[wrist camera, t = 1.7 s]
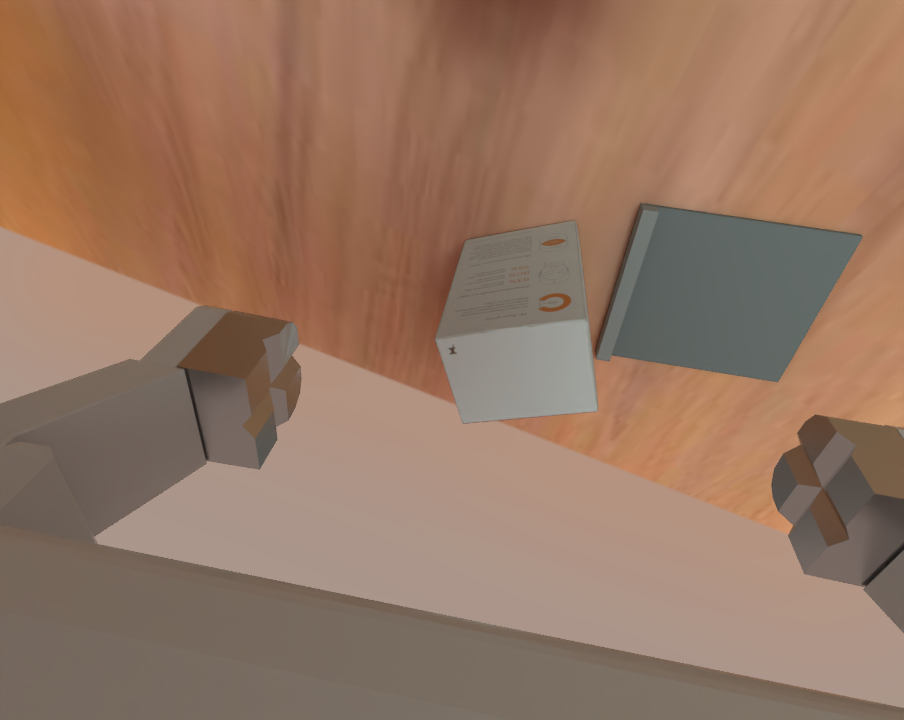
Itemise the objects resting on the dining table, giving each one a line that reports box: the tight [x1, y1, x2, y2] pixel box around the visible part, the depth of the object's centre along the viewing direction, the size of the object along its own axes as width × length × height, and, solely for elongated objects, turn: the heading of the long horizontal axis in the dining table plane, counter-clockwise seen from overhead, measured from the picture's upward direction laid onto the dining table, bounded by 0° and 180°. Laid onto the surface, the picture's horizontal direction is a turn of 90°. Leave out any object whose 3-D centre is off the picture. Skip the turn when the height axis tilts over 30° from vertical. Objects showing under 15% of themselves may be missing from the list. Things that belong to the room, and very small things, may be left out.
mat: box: [595, 203, 863, 382], centre depth 38 cm, size 14×12×1 cm
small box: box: [435, 221, 598, 424], centre depth 35 cm, size 8×6×13 cm
